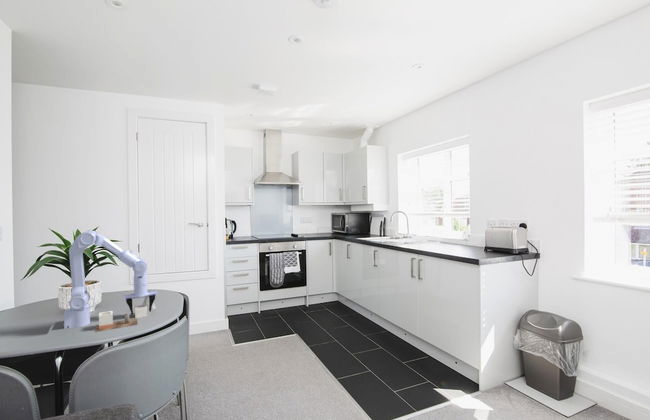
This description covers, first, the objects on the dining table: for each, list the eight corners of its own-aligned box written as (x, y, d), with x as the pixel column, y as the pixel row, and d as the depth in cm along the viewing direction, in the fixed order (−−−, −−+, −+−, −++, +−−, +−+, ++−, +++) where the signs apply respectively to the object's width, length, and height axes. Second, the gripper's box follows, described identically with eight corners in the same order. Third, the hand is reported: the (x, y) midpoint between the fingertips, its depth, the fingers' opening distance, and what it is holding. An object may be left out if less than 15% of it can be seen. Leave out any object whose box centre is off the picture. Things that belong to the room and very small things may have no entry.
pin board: (94, 335, 140) (94, 322, 140) (95, 328, 148) (95, 316, 148) (137, 327, 148) (137, 315, 148) (136, 321, 157) (136, 309, 157)
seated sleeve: (99, 329, 143) (98, 315, 142) (99, 325, 147) (99, 312, 147) (112, 327, 145) (112, 313, 145) (112, 323, 149) (112, 310, 149)
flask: (149, 313, 168) (149, 293, 168) (137, 312, 170) (136, 293, 170) (159, 308, 175) (158, 290, 175) (147, 308, 177) (147, 289, 177)
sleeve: (135, 321, 157) (135, 308, 157) (134, 318, 161) (134, 305, 161) (147, 319, 160) (147, 306, 159) (146, 316, 164) (146, 304, 164)
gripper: (123, 288, 153) (123, 317, 153) (157, 284, 160) (158, 311, 161) (123, 285, 159) (123, 313, 159) (156, 281, 166) (157, 308, 167)
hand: (141, 312), depth 160 cm, fingers open, 7 cm apart
